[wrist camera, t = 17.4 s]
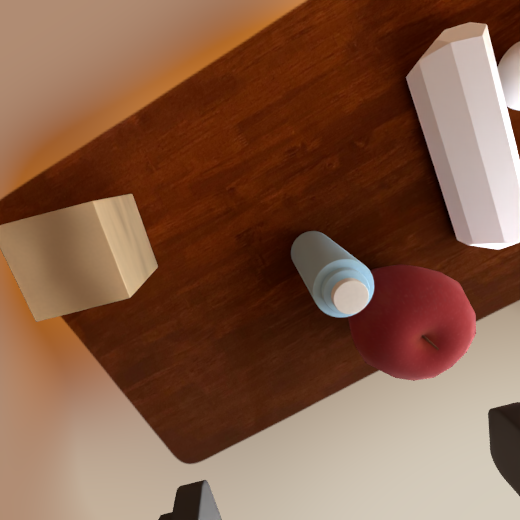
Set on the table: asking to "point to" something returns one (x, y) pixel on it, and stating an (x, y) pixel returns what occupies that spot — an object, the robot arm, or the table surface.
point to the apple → (413, 323)
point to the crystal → (469, 135)
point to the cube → (78, 256)
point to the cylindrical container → (511, 76)
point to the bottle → (332, 275)
